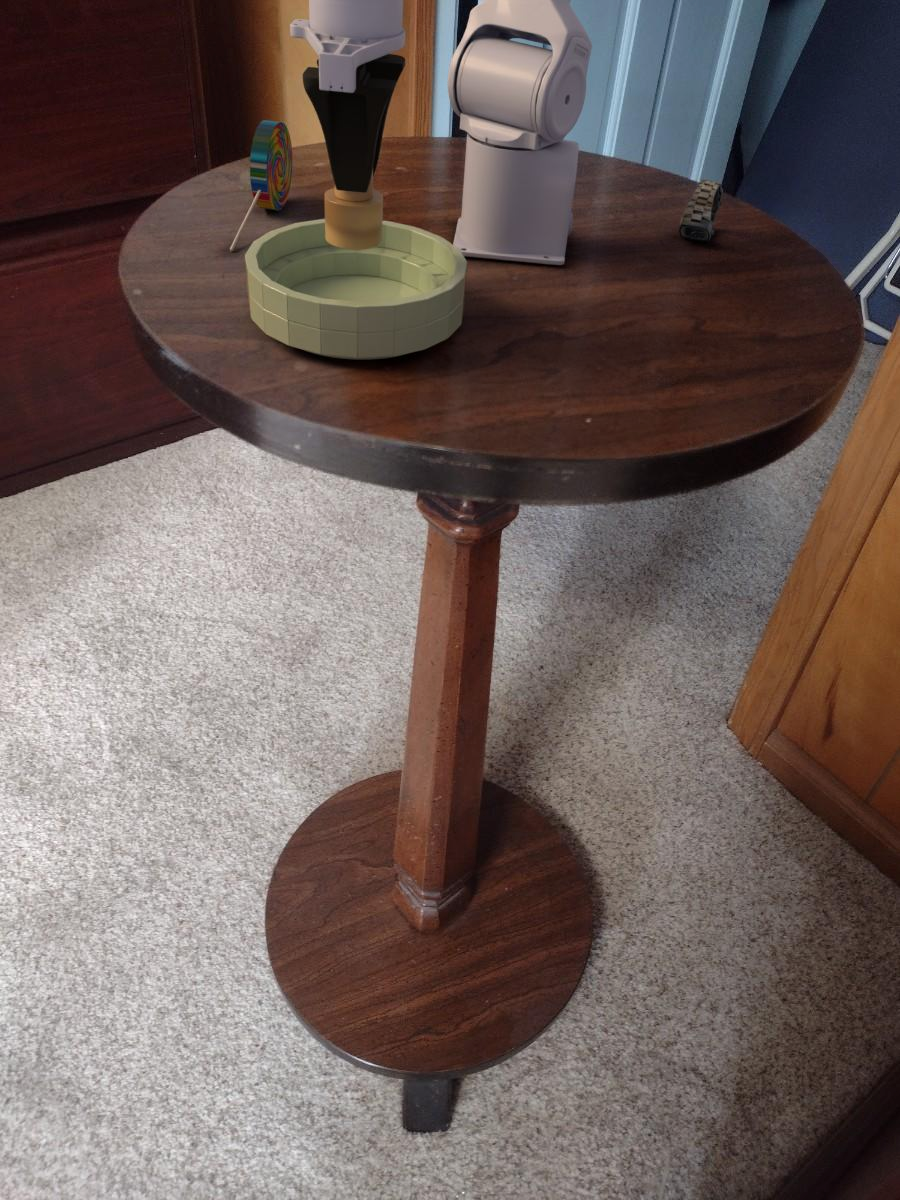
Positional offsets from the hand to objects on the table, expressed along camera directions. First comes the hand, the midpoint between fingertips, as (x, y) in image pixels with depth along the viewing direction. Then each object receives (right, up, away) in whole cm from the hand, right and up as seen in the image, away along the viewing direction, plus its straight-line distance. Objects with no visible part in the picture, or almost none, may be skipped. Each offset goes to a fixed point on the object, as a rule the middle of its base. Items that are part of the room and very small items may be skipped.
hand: (355, 181), depth 66 cm
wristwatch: (+29, +5, +23) cm, 37 cm away
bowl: (0, -7, +6) cm, 10 cm away
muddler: (0, -3, +3) cm, 4 cm away
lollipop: (-10, +5, +19) cm, 22 cm away
